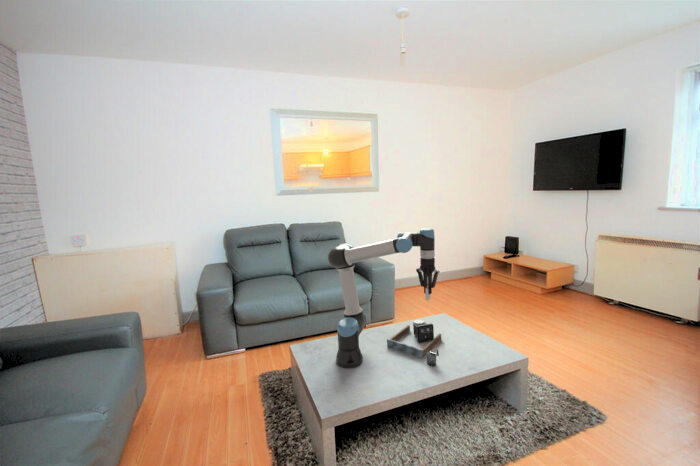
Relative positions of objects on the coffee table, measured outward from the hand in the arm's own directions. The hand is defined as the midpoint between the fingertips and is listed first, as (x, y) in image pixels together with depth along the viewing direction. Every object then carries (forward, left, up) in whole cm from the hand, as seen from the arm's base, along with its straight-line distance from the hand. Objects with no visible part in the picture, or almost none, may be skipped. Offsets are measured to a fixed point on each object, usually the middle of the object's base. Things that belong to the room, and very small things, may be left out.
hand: (427, 299), depth 173 cm
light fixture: (-14, +19, -35) cm, 42 cm away
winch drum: (+4, -5, -34) cm, 35 cm away
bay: (-14, +10, -34) cm, 38 cm away
